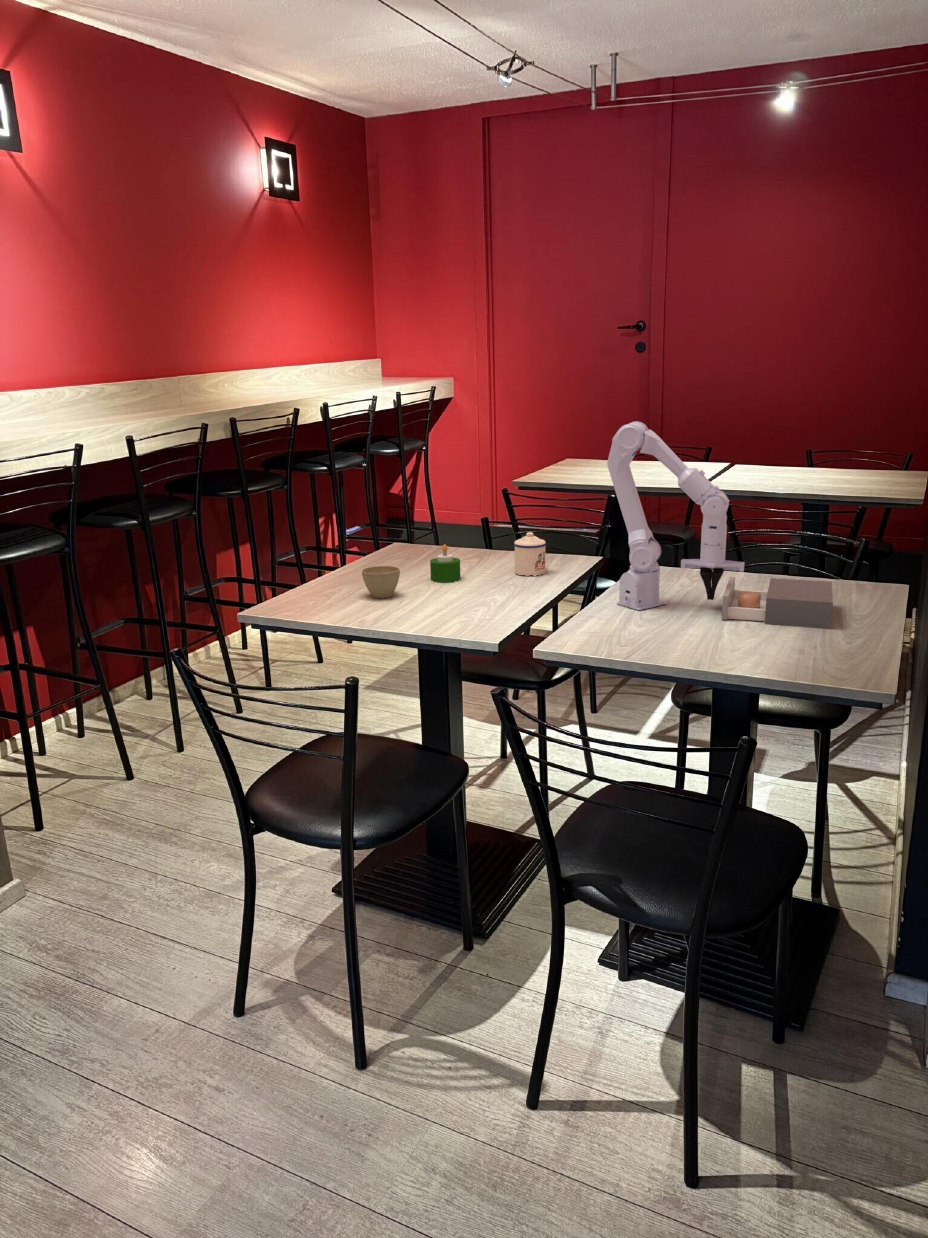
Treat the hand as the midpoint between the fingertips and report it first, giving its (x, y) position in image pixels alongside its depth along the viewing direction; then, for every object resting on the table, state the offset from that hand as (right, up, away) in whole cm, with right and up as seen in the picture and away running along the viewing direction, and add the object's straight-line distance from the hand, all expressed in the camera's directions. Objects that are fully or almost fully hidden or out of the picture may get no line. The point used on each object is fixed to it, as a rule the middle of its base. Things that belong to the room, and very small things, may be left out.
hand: (710, 598), depth 225 cm
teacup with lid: (-40, +8, +42) cm, 59 cm away
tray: (+9, -3, -3) cm, 10 cm away
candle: (-64, +6, +36) cm, 74 cm away
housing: (+18, -4, -6) cm, 19 cm away
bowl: (-81, +1, +20) cm, 83 cm away
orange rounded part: (+8, -2, -3) cm, 9 cm away
